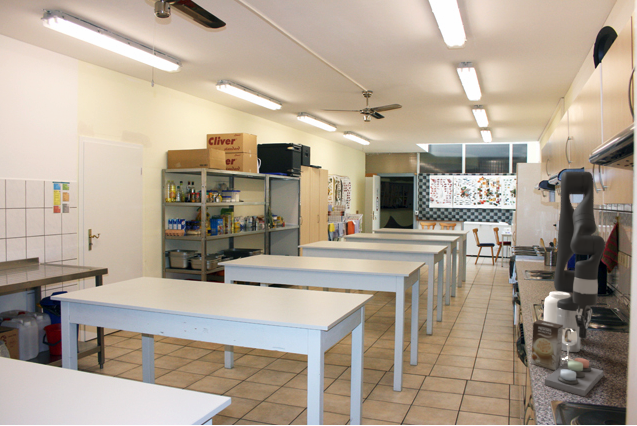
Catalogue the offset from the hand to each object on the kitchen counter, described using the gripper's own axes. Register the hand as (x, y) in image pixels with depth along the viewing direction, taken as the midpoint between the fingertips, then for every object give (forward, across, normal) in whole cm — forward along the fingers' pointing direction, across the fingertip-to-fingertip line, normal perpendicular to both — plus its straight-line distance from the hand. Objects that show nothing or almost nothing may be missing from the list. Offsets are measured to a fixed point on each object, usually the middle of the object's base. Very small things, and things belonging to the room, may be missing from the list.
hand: (582, 337), depth 162 cm
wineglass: (+14, -12, -8) cm, 20 cm away
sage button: (+9, +8, 0) cm, 12 cm away
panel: (+13, +8, 0) cm, 16 cm away
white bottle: (+15, -44, -21) cm, 51 cm away
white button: (+10, +16, 0) cm, 19 cm away
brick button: (+10, 0, 0) cm, 10 cm away
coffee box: (+14, 0, -12) cm, 18 cm away
